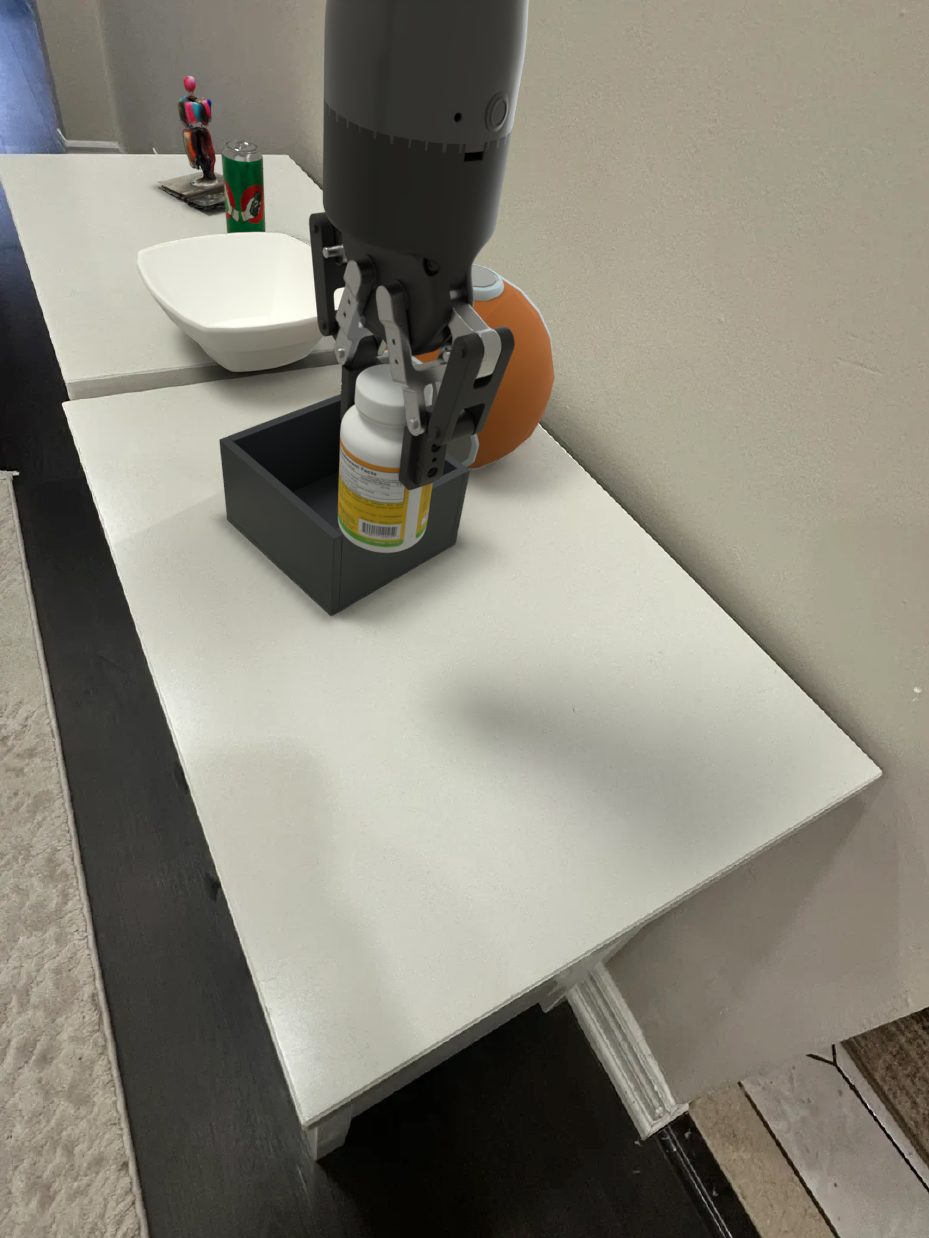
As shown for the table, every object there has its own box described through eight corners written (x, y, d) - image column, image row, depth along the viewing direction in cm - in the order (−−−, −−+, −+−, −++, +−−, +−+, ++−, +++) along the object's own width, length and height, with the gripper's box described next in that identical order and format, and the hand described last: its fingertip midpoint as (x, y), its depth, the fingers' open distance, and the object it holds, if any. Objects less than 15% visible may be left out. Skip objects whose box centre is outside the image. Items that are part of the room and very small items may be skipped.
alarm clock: (563, 440, 85) (609, 287, 72) (477, 514, 74) (513, 349, 61) (425, 369, 90) (444, 215, 78) (325, 429, 79) (329, 261, 67)
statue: (160, 197, 113) (134, 74, 103) (212, 184, 119) (193, 66, 108) (206, 215, 108) (184, 88, 98) (258, 201, 114) (243, 79, 103)
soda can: (270, 240, 107) (267, 144, 98) (259, 254, 103) (254, 156, 94) (235, 232, 107) (228, 135, 98) (222, 246, 103) (214, 147, 94)
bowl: (203, 419, 77) (194, 340, 71) (126, 322, 87) (113, 245, 81) (377, 377, 87) (383, 305, 81) (291, 294, 97) (290, 224, 91)
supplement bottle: (392, 486, 49) (406, 347, 42) (443, 536, 47) (467, 397, 40) (320, 513, 47) (321, 369, 39) (369, 567, 44) (381, 424, 37)
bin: (331, 616, 63) (334, 539, 56) (226, 519, 68) (218, 439, 62) (455, 544, 71) (470, 469, 64) (353, 463, 76) (357, 387, 70)
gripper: (248, 44, 32) (266, 399, 44) (449, 179, 25) (403, 553, 37) (400, 44, 35) (376, 372, 48) (611, 162, 29) (519, 508, 41)
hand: (388, 450), depth 43 cm, fingers closed on supplement bottle, 5 cm apart
